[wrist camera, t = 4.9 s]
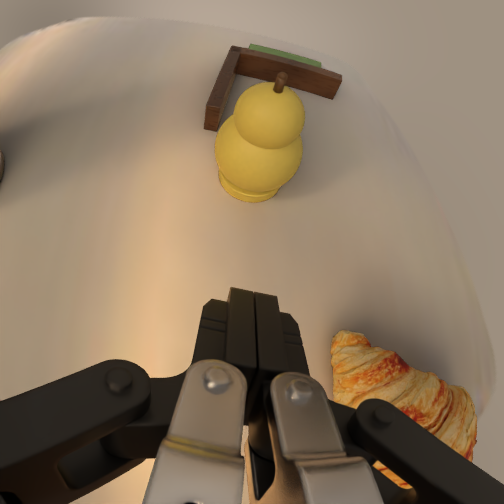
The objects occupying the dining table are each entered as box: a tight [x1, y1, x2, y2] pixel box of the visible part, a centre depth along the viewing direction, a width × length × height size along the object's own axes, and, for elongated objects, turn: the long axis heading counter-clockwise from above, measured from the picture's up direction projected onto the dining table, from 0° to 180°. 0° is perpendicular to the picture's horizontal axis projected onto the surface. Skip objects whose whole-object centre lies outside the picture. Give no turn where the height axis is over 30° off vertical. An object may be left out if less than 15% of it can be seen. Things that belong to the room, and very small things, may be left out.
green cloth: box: [249, 44, 321, 68], centre depth 32 cm, size 9×5×1 cm, turn 81°
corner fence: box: [204, 46, 342, 131], centre depth 28 cm, size 12×11×3 cm
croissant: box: [330, 330, 477, 489], centre depth 17 cm, size 21×10×8 cm, turn 38°
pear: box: [215, 72, 305, 202], centre depth 21 cm, size 6×6×11 cm
